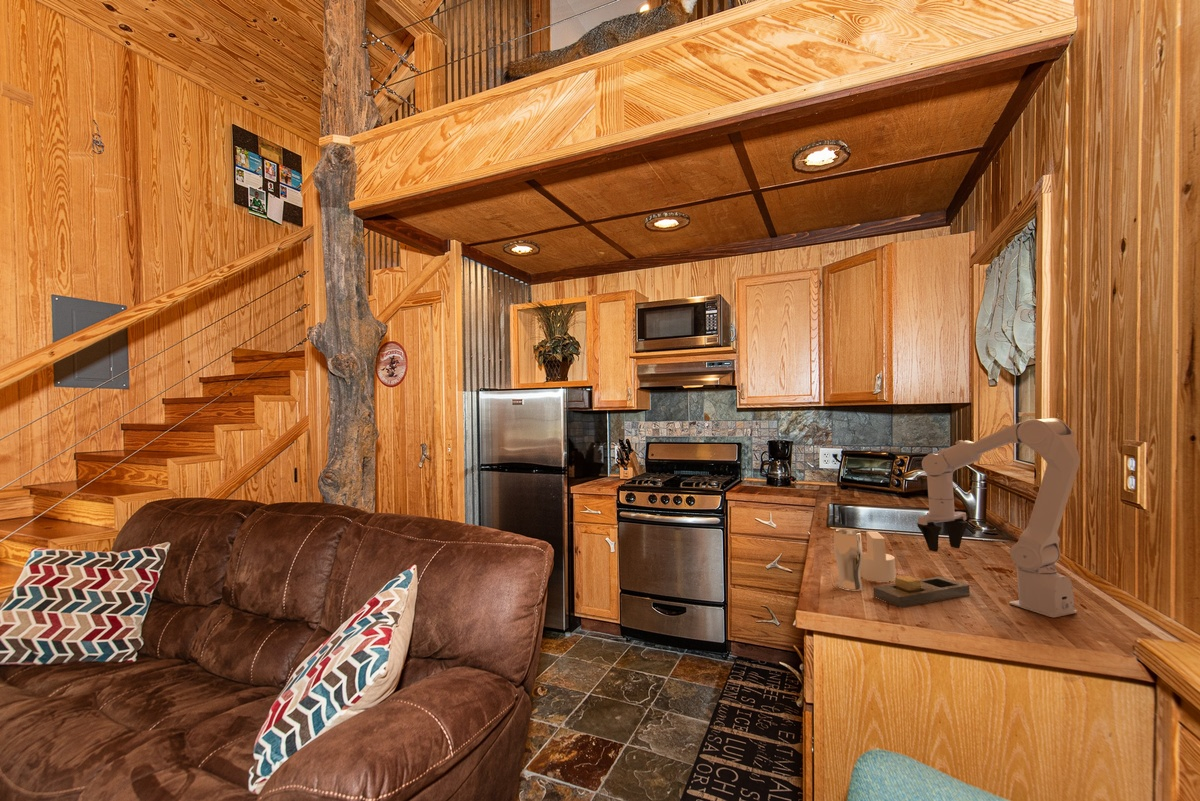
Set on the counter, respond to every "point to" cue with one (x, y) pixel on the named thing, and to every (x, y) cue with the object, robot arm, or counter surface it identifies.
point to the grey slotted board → (923, 592)
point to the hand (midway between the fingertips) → (944, 549)
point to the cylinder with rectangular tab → (877, 560)
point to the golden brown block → (908, 584)
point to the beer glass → (848, 558)
